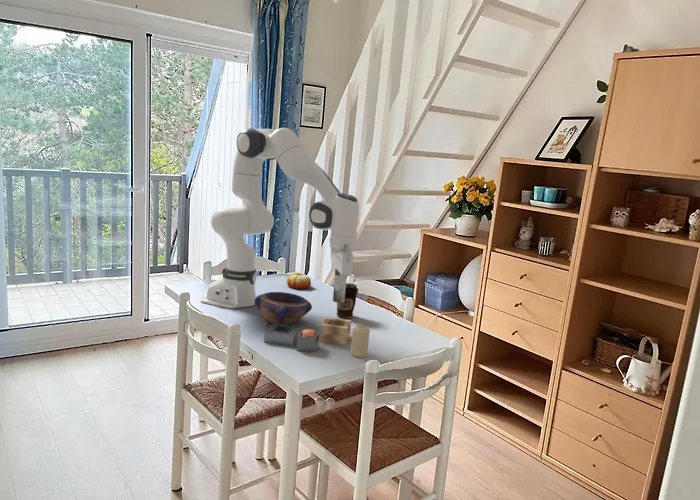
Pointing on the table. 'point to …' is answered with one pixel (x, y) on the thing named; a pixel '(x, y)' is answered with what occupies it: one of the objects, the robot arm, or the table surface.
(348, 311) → the coffee cup
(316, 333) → the button housing
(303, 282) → the fruit
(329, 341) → the wooden box
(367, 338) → the candle
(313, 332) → the button
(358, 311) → the table surface
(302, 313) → the bowl
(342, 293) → the steel peg
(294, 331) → the socket block
